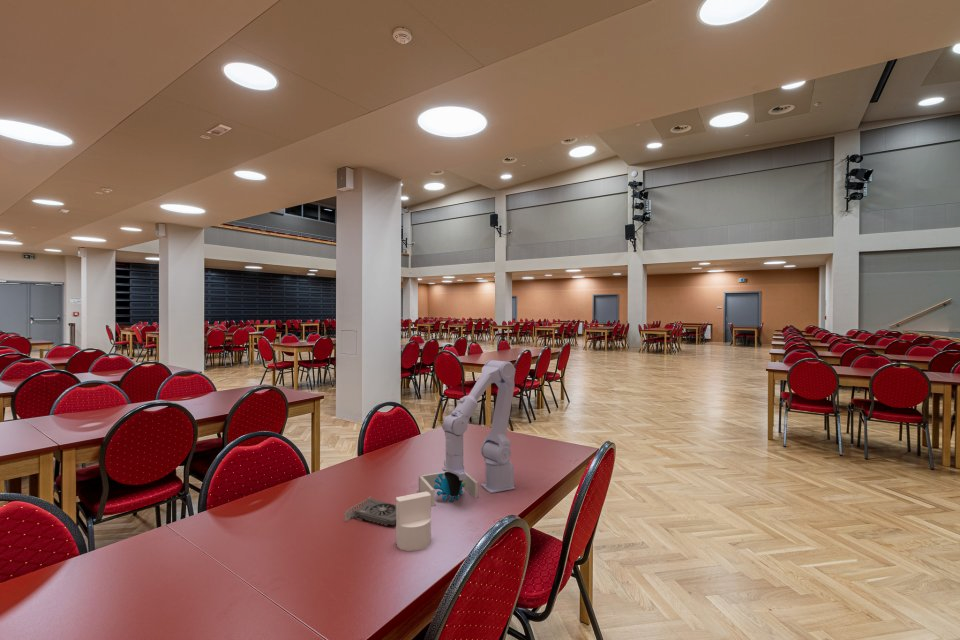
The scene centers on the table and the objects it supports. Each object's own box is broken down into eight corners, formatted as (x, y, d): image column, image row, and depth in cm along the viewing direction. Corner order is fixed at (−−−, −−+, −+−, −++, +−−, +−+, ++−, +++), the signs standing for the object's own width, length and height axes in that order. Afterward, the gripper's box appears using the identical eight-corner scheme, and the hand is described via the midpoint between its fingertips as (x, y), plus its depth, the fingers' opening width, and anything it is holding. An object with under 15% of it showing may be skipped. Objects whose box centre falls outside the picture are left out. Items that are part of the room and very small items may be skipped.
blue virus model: (437, 500, 137) (433, 470, 143) (431, 508, 140) (427, 479, 147) (469, 499, 141) (463, 470, 148) (463, 507, 145) (457, 478, 152)
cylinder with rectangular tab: (402, 554, 108) (402, 506, 108) (392, 538, 116) (391, 493, 116) (436, 545, 112) (435, 499, 112) (423, 530, 120) (423, 487, 120)
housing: (462, 483, 155) (462, 469, 156) (478, 497, 143) (478, 482, 143) (418, 490, 149) (418, 475, 149) (431, 506, 136) (431, 490, 136)
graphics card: (341, 510, 126) (369, 494, 137) (341, 523, 126) (369, 506, 137) (387, 523, 119) (413, 505, 130) (387, 536, 119) (413, 517, 130)
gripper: (435, 448, 145) (435, 489, 145) (450, 461, 132) (450, 506, 132) (455, 445, 148) (455, 485, 148) (472, 458, 135) (472, 502, 135)
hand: (454, 495), depth 140 cm, fingers closed
